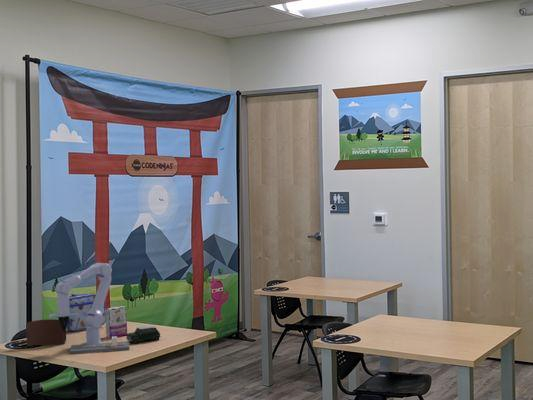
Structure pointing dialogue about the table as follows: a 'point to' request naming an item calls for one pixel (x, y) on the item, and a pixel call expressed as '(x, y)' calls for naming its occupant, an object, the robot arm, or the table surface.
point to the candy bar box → (116, 321)
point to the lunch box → (81, 310)
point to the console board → (98, 347)
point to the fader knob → (114, 341)
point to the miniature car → (143, 334)
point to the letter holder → (45, 332)
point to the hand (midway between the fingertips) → (64, 331)
